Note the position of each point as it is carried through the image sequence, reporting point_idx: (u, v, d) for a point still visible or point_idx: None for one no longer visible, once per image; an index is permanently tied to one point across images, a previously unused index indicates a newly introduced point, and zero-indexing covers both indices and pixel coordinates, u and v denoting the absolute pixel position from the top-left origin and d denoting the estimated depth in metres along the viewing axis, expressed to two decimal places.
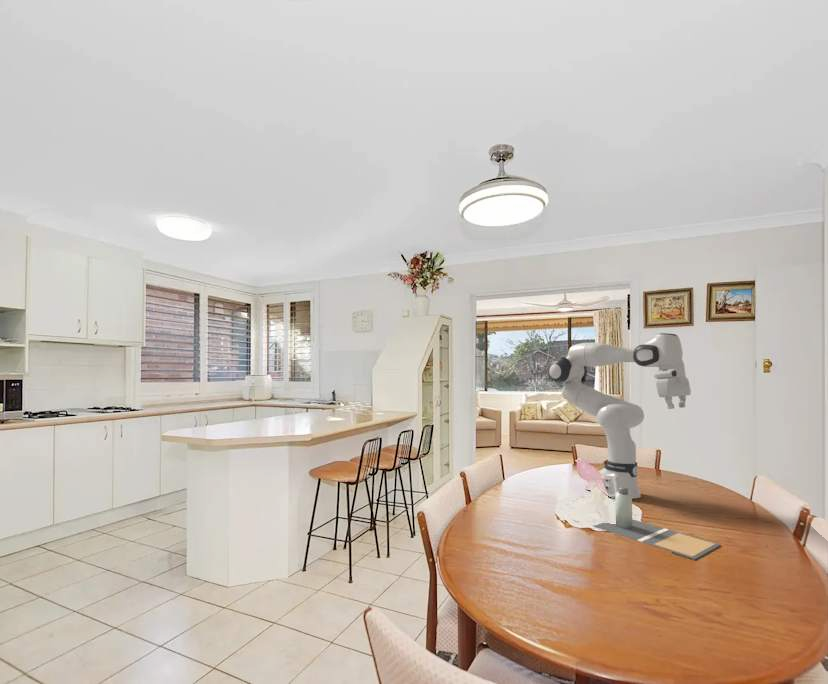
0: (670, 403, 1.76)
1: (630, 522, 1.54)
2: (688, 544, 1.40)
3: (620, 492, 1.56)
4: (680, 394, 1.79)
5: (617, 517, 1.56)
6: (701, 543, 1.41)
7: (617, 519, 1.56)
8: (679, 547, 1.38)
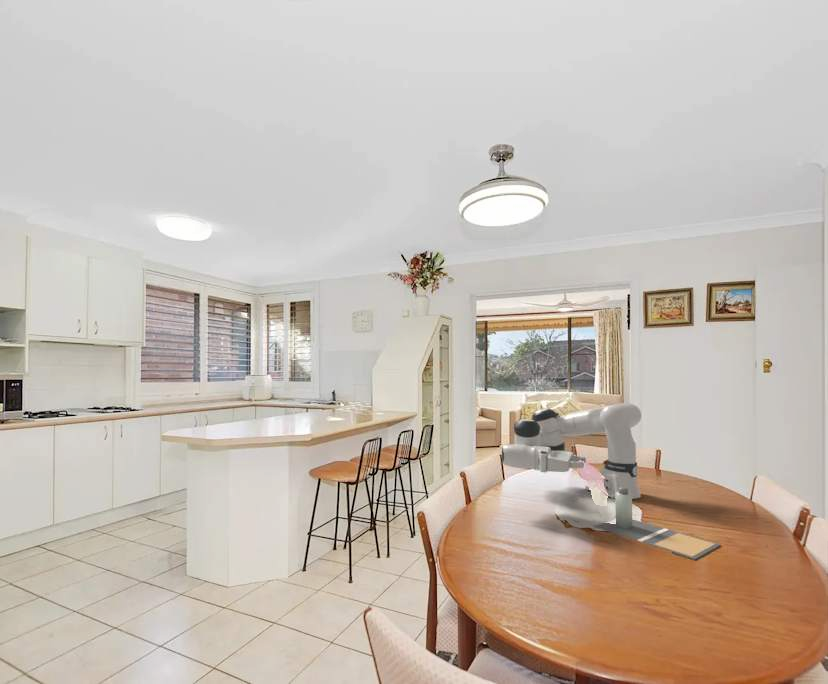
0: (577, 464, 1.58)
1: (630, 522, 1.54)
2: (688, 544, 1.40)
3: (620, 492, 1.56)
4: (569, 455, 1.65)
5: (617, 517, 1.56)
6: (701, 543, 1.41)
7: (617, 519, 1.56)
8: (679, 547, 1.38)
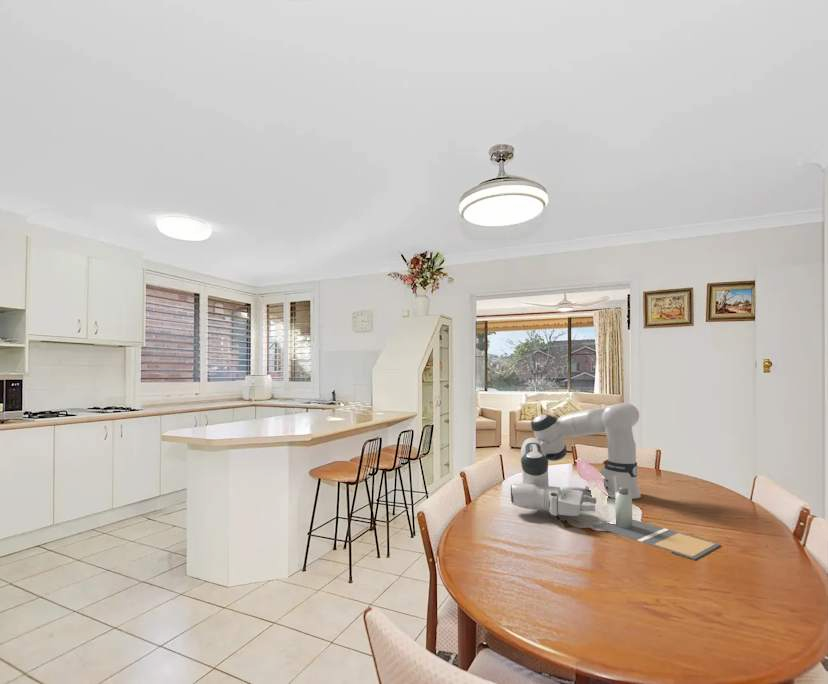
0: (589, 507, 1.56)
1: (630, 522, 1.54)
2: (688, 544, 1.40)
3: (620, 492, 1.56)
4: (579, 497, 1.63)
5: (617, 517, 1.56)
6: (701, 543, 1.41)
7: (617, 519, 1.56)
8: (679, 547, 1.38)
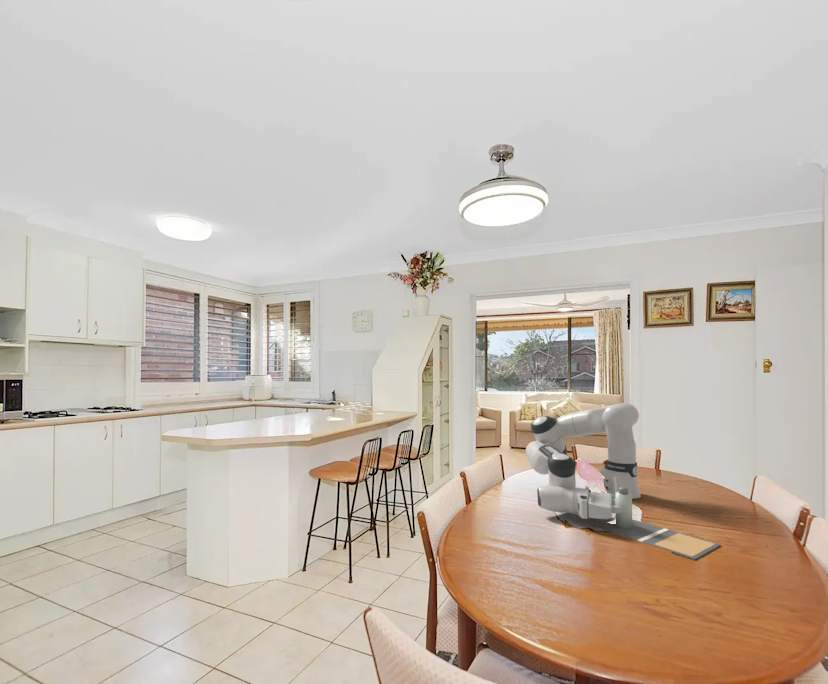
0: (620, 509, 1.53)
1: (630, 522, 1.54)
2: (688, 544, 1.40)
3: (620, 492, 1.56)
4: (609, 499, 1.59)
5: (617, 517, 1.56)
6: (701, 543, 1.41)
7: (617, 519, 1.56)
8: (679, 547, 1.38)
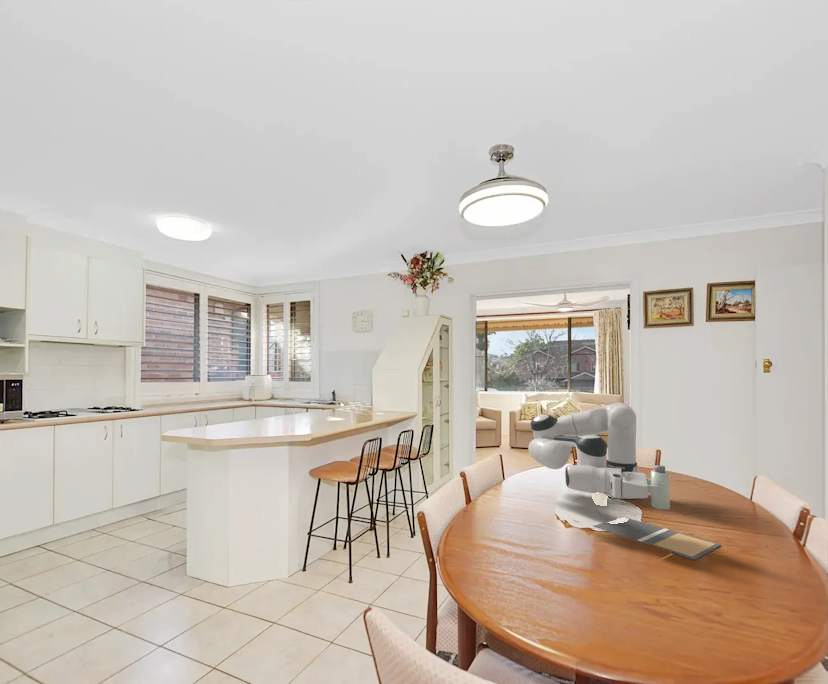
0: (657, 488, 1.42)
1: (668, 502, 1.43)
2: (688, 544, 1.40)
3: (656, 470, 1.45)
4: (644, 479, 1.48)
5: (653, 497, 1.45)
6: (701, 543, 1.41)
7: (653, 499, 1.45)
8: (679, 547, 1.38)
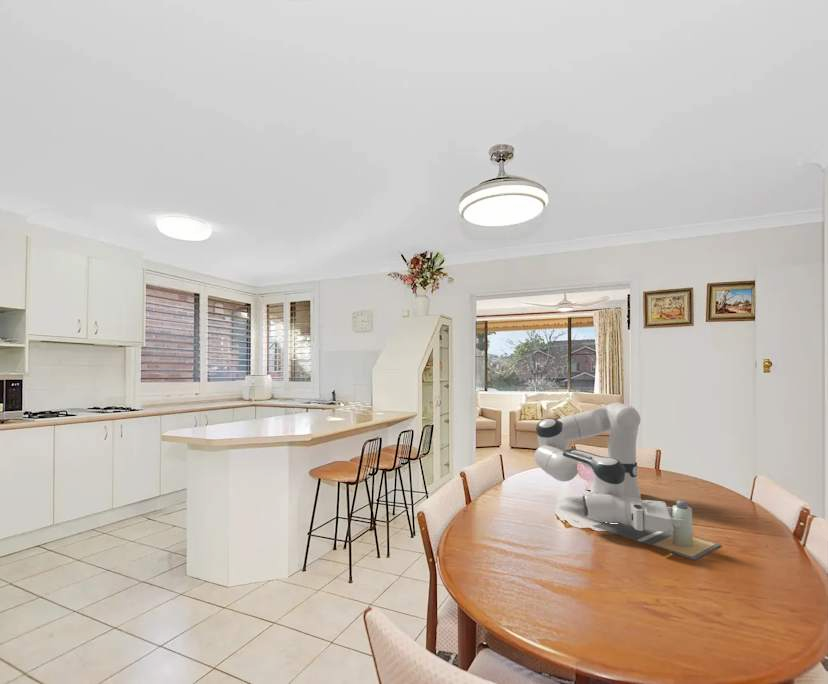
0: (680, 521, 1.37)
1: (691, 540, 1.39)
2: None
3: (679, 506, 1.41)
4: (666, 509, 1.44)
5: (675, 534, 1.40)
6: (701, 543, 1.41)
7: (675, 536, 1.40)
8: (679, 547, 1.38)
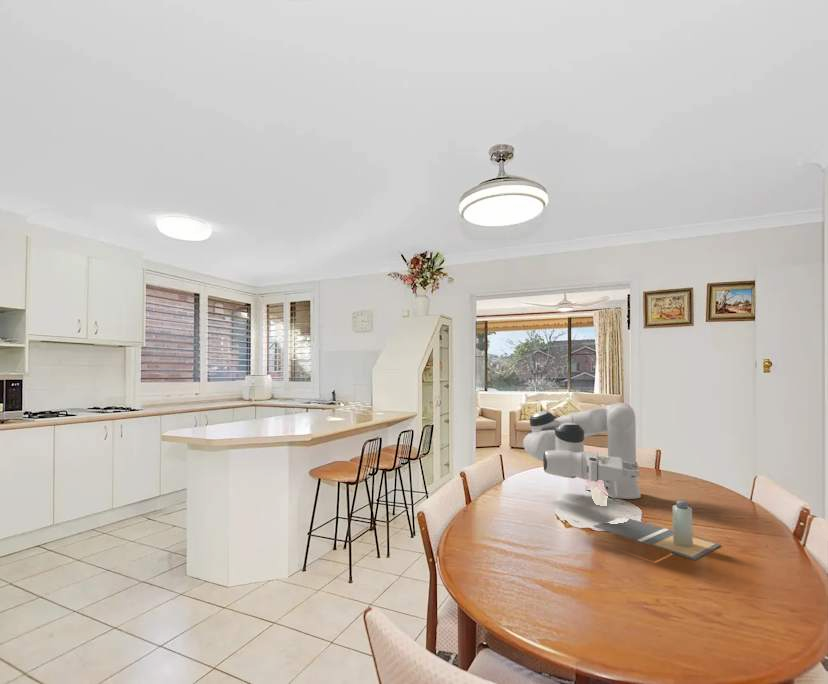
0: (632, 472, 1.43)
1: (691, 540, 1.39)
2: None
3: (679, 506, 1.41)
4: (620, 462, 1.50)
5: (675, 534, 1.40)
6: (701, 543, 1.41)
7: (675, 536, 1.40)
8: (679, 547, 1.38)
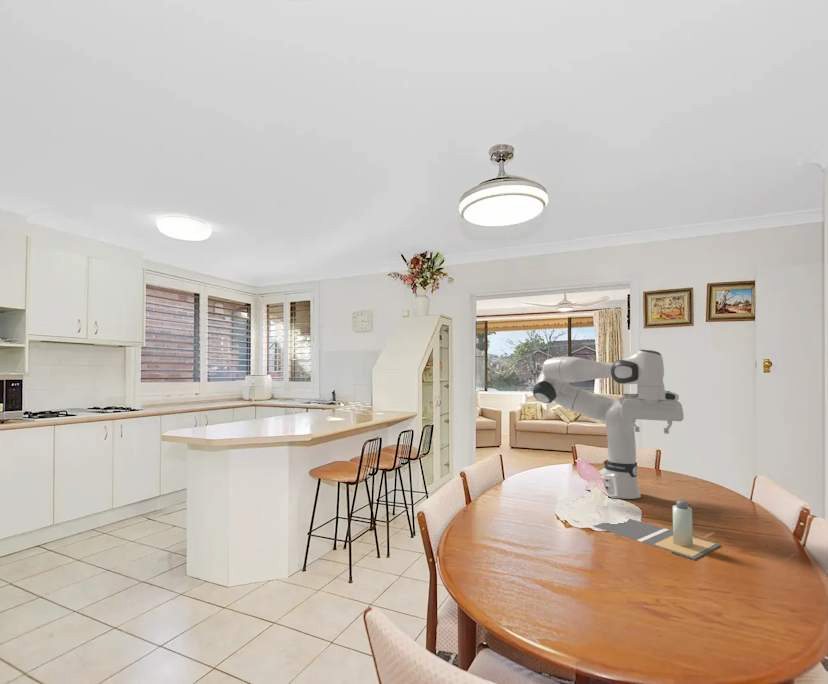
0: None
1: (691, 540, 1.39)
2: None
3: (679, 506, 1.41)
4: None
5: (675, 534, 1.40)
6: (701, 543, 1.41)
7: (675, 536, 1.40)
8: (679, 547, 1.38)
